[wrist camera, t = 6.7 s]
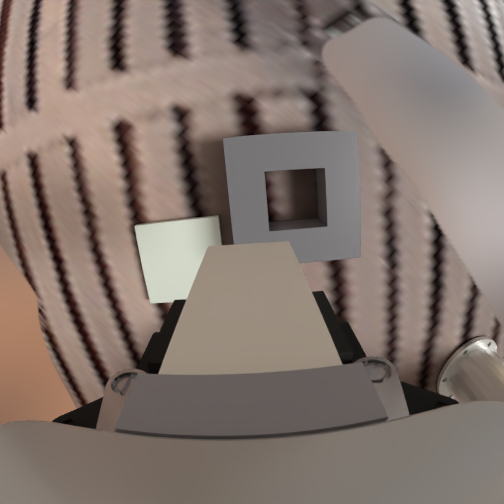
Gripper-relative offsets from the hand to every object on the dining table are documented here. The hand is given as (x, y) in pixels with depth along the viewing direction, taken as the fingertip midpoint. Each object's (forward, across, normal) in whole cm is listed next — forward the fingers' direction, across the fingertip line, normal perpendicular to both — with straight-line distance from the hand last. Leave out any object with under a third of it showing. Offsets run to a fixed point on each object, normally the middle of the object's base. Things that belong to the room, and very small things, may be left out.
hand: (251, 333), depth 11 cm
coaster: (+21, +7, +4) cm, 23 cm away
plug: (+5, 0, 0) cm, 5 cm away
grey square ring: (+21, -4, -2) cm, 22 cm away
